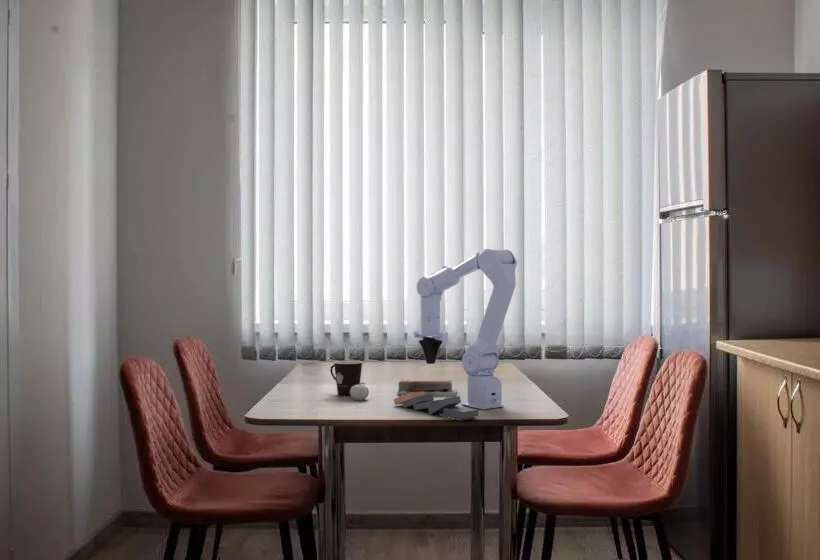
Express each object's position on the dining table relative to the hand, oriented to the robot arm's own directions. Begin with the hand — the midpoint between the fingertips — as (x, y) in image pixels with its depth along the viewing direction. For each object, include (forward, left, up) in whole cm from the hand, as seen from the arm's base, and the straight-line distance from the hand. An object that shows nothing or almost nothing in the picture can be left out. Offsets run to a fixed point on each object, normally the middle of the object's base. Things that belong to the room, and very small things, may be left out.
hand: (430, 363), depth 218 cm
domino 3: (-12, +13, -10) cm, 20 cm away
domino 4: (-20, +13, -10) cm, 25 cm away
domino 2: (-8, +13, -10) cm, 18 cm away
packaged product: (+8, -5, -11) cm, 15 cm away
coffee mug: (+22, +16, -11) cm, 29 cm away
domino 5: (-24, +12, -9) cm, 29 cm away
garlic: (+11, +18, -11) cm, 24 cm away
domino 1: (-4, +13, -9) cm, 16 cm away
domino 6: (-23, +12, -10) cm, 28 cm away
